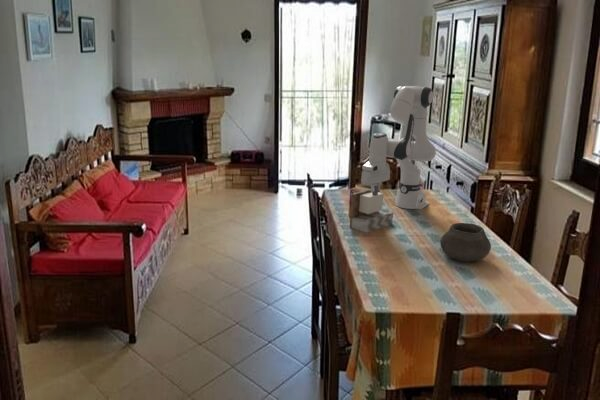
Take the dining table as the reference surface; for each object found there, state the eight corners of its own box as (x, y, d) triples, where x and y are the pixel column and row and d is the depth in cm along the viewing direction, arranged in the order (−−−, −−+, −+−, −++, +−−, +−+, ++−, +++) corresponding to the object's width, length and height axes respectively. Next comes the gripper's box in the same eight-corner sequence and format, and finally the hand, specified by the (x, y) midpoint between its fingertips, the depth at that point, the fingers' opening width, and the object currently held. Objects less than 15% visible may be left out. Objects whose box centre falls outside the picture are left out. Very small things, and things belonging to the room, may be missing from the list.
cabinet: (373, 207, 279) (374, 181, 275) (382, 209, 275) (384, 184, 271) (359, 211, 270) (360, 185, 266) (368, 214, 266) (370, 188, 262)
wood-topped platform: (375, 218, 285) (377, 186, 280) (392, 223, 278) (395, 191, 272) (349, 226, 270) (351, 193, 265) (366, 232, 263) (369, 198, 257)
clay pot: (436, 262, 229) (440, 231, 225) (441, 246, 248) (445, 217, 244) (487, 271, 222) (492, 239, 217) (489, 254, 241) (493, 224, 237)
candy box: (364, 217, 286) (366, 191, 282) (359, 218, 284) (361, 192, 279) (353, 213, 293) (355, 187, 288) (348, 214, 290) (349, 188, 286)
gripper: (384, 161, 273) (382, 186, 277) (359, 166, 259) (358, 192, 263) (394, 163, 269) (391, 188, 273) (369, 168, 255) (367, 195, 259)
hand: (375, 191), depth 268 cm, fingers closed on cabinet
